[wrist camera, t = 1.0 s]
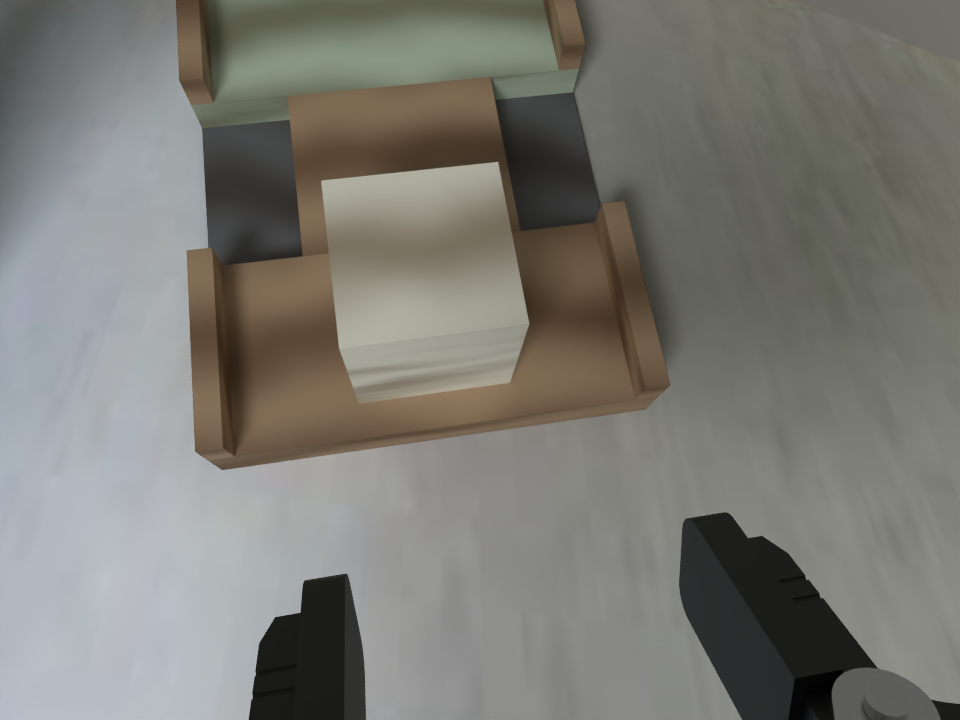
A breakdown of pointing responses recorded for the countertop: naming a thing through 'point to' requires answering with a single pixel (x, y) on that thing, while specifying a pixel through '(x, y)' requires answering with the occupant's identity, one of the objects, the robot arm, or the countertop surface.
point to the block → (424, 280)
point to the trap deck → (382, 150)
